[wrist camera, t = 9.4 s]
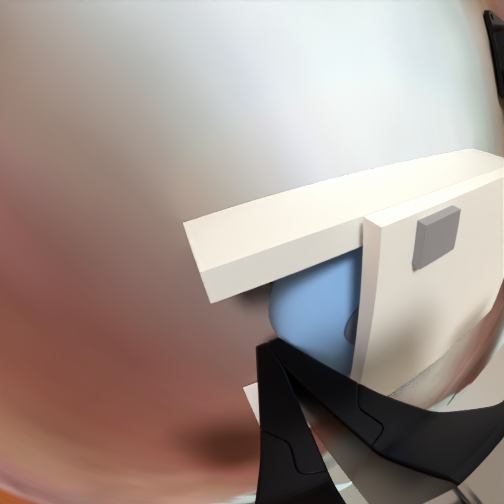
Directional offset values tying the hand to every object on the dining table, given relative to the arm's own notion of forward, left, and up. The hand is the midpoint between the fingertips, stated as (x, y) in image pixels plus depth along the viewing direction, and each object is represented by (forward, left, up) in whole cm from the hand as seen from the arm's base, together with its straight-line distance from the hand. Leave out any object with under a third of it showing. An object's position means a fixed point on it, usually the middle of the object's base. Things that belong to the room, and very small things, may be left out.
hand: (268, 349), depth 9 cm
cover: (-8, 0, +2) cm, 8 cm away
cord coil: (-4, 0, -2) cm, 4 cm away
